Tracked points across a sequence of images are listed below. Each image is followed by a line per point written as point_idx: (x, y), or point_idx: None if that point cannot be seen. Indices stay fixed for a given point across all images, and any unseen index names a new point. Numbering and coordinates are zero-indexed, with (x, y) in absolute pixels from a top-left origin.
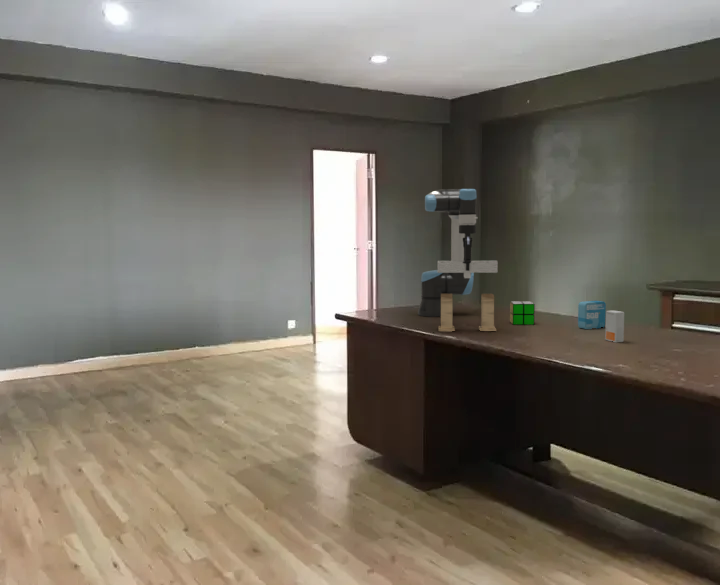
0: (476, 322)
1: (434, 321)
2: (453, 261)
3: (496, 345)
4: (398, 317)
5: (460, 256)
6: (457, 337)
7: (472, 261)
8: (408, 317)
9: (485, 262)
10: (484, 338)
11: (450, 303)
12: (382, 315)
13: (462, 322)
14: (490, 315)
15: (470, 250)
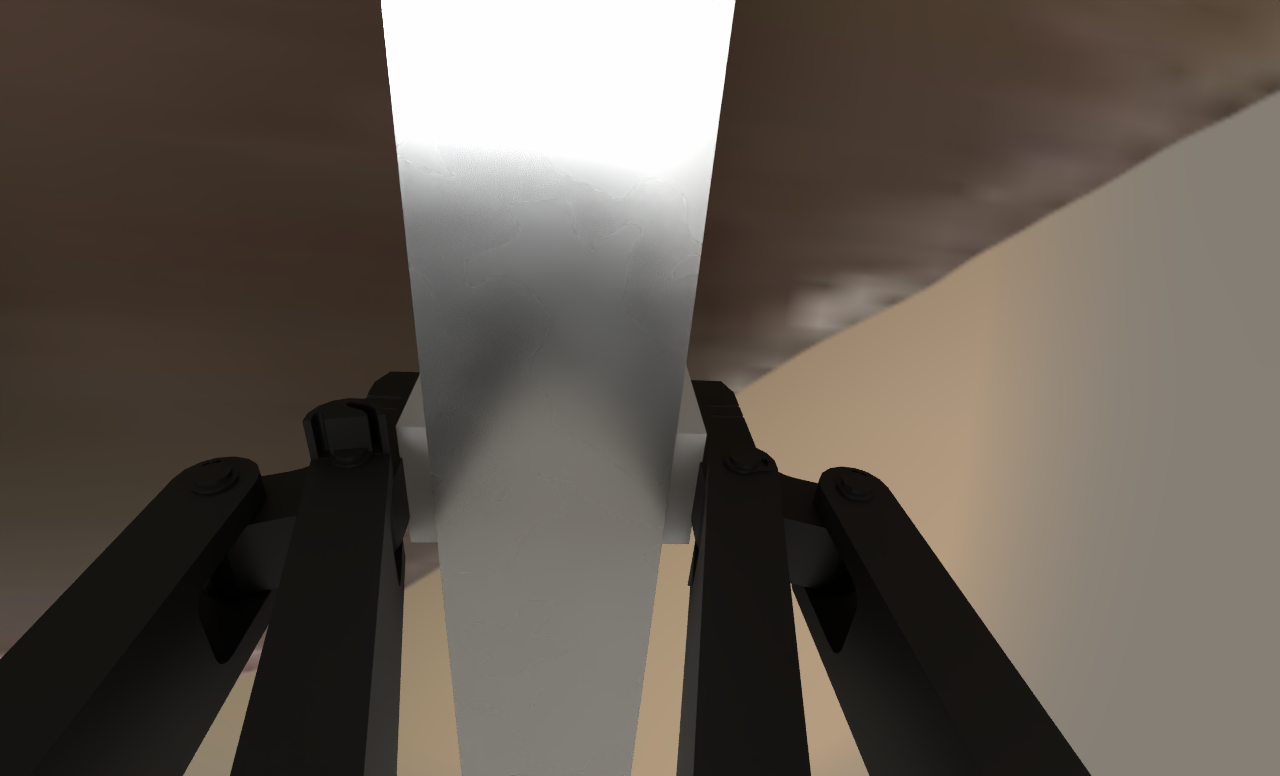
0: (118, 16)
1: (175, 359)
2: (634, 722)
3: (1227, 47)
4: (60, 555)
5: None
6: (870, 265)
7: (677, 419)
8: (32, 505)
9: (720, 24)
10: (951, 87)
11: None
12: (6, 629)
13: (161, 152)
14: None
15: (1062, 761)
